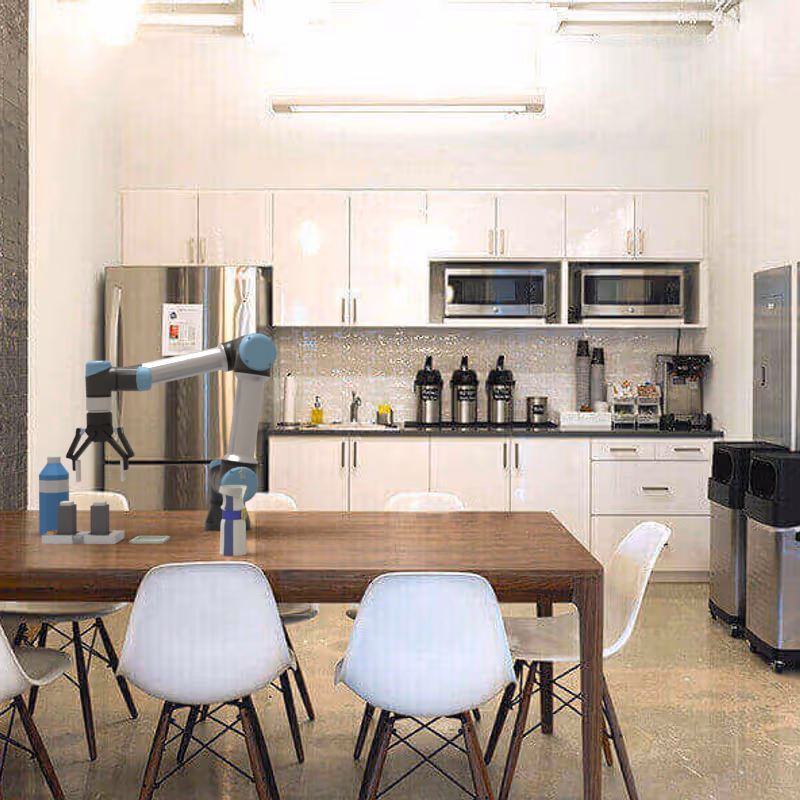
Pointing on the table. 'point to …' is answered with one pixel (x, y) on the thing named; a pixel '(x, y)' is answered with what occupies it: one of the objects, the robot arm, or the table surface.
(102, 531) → the plug
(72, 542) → the pdu strip
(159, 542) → the tray
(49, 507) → the water bottle
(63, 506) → the twin plug
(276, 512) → the table surface
